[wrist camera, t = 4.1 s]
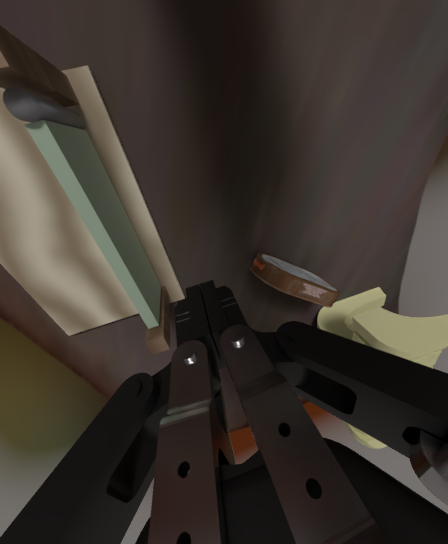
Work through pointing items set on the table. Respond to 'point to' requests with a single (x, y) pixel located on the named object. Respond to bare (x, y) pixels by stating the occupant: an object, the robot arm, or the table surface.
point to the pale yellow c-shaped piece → (384, 335)
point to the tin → (293, 280)
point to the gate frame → (69, 207)
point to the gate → (89, 194)
